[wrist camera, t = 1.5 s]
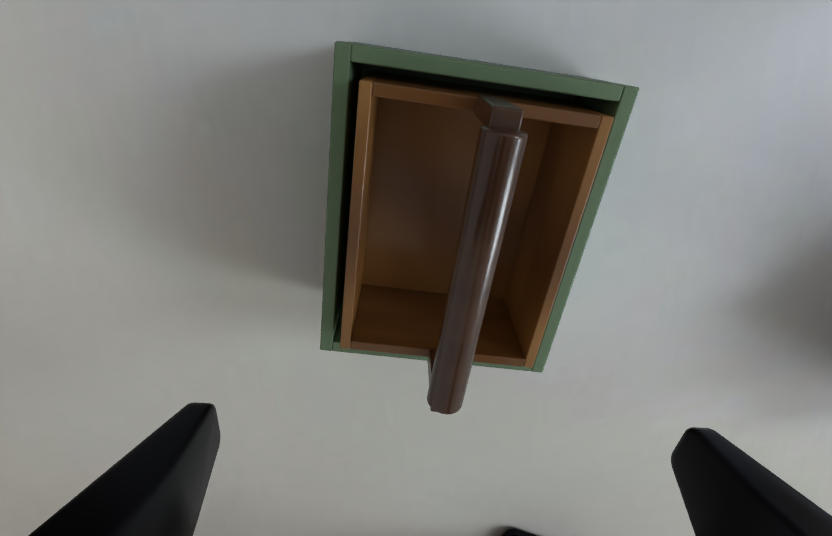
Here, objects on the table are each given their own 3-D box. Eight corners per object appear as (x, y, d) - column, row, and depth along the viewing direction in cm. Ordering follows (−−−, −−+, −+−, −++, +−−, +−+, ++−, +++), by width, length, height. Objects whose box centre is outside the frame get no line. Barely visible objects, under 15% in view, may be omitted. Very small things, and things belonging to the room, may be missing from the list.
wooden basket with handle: (372, 67, 17) (343, 86, 10) (564, 96, 18) (676, 134, 10) (354, 287, 22) (324, 415, 14) (507, 305, 22) (556, 436, 15)
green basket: (352, 41, 17) (334, 40, 13) (588, 77, 18) (640, 87, 14) (336, 295, 22) (319, 350, 18) (519, 315, 23) (542, 373, 19)
